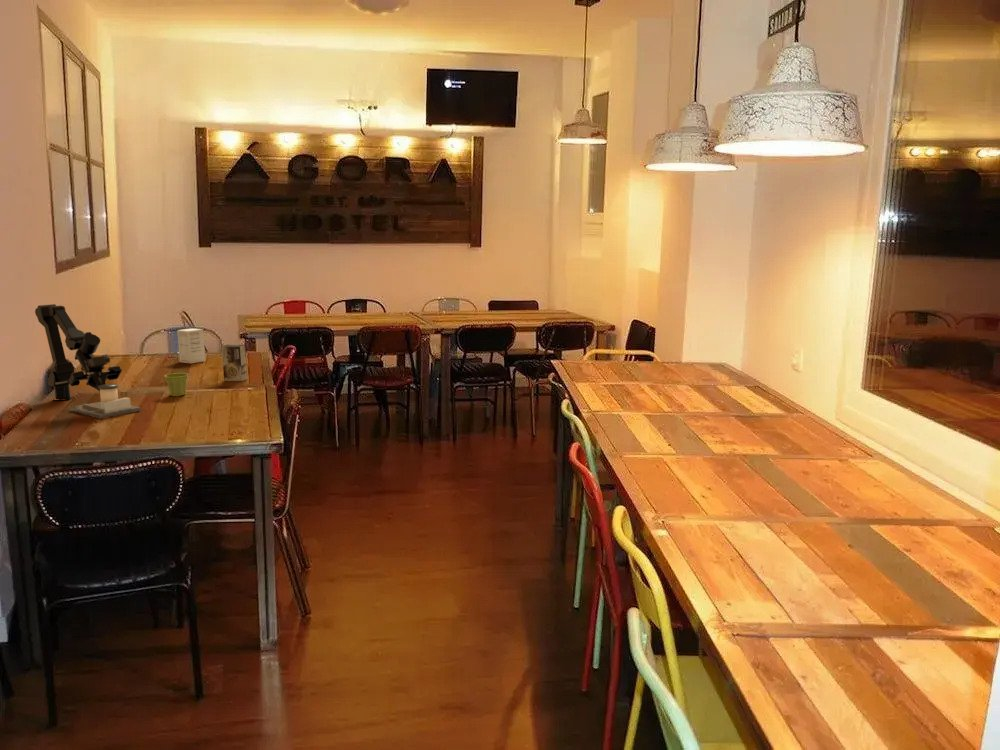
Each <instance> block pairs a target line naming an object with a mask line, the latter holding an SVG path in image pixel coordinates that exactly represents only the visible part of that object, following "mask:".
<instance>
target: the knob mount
mask: <svg viewBox="0 0 1000 750" xmlns="http://www.w3.org/2000/svg"><path fill="white" fill-rule="evenodd" d="M71 410H73V411H76V412H75V413H77V412H79V413H78V414H80V413H82V414H81V415H84V414H85V415H84V416H87V415H89V416H88V417H90V416H92V417H91V418H94V417H96V418H95V419H97V418H99V419H98V420H101V419H100V418H103V419H106V418H105V417H108V418H111V417H110V416H113V417H116V416H115V415H119V416H122V415H121V414H124V415H127V414H126V413H129V414H132V413H131V412H134V413H138V412H137V411H139V412H141V407H140V406H136V405H133V404H131V398H130V397H121V398H119V397H118V399H114V400H108V401H102V402H101V401H98V402H92V403H91V402H90V403H81V405H80V404H79V405H74V406H70V411H71ZM73 411H72V412H73Z"/></svg>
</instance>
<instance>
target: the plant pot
mask: <svg viewBox="0 0 1000 750" xmlns="http://www.w3.org/2000/svg"><path fill="white" fill-rule="evenodd" d="M188 376H189V374H188V373H187V372H176V373H168V374H164V378H165V380H166V382H167V383H166V384H167V386H168V391H169V396H170V397H181V396H186V394H187V379H188Z"/></svg>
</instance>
